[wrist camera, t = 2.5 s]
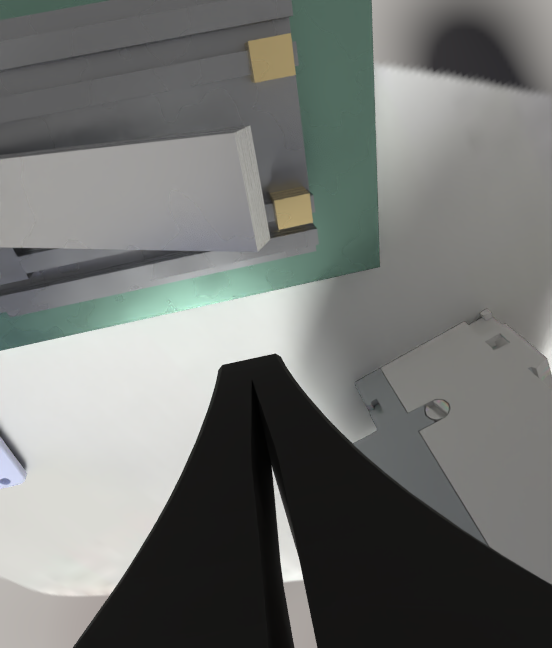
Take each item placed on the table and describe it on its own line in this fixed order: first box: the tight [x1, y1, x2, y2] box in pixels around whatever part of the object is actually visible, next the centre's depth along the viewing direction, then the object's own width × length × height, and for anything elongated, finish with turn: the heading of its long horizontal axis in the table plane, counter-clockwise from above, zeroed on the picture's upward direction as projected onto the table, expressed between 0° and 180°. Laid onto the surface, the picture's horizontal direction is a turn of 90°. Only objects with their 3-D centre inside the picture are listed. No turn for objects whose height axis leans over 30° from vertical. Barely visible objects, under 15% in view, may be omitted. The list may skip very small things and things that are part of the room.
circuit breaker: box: [353, 309, 552, 584], centre depth 19 cm, size 8×14×15 cm, turn 120°
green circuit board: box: [0, 0, 380, 351], centre depth 14 cm, size 18×13×4 cm
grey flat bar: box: [0, 125, 270, 252], centre depth 11 cm, size 10×3×1 cm
